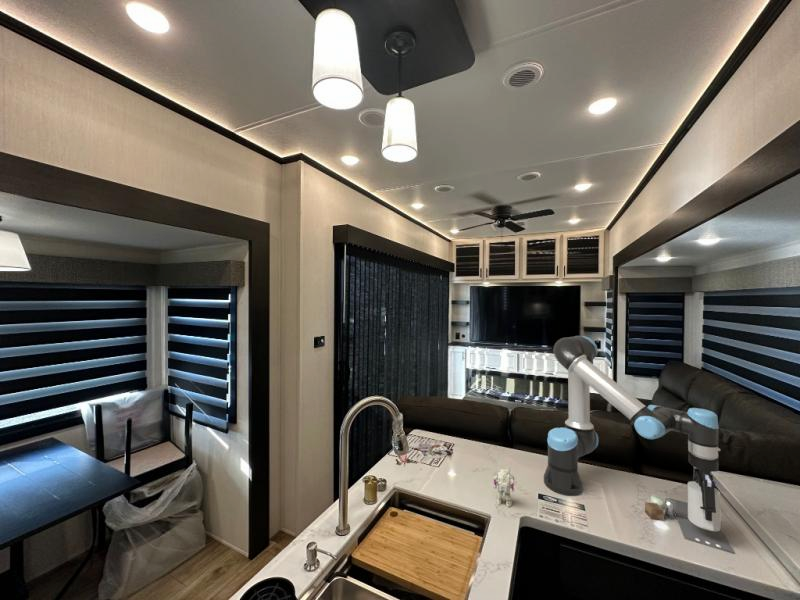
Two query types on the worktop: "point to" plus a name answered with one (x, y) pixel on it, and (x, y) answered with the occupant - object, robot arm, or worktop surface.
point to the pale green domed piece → (657, 501)
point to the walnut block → (654, 511)
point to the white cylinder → (696, 503)
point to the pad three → (704, 535)
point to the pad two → (681, 509)
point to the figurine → (503, 485)
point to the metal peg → (669, 508)
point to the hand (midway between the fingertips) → (703, 520)
